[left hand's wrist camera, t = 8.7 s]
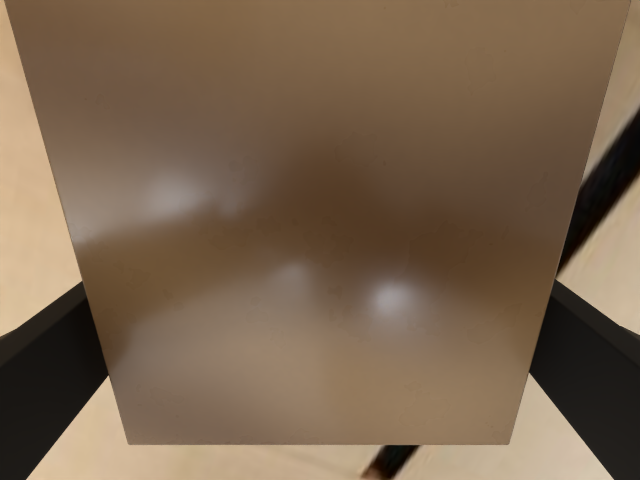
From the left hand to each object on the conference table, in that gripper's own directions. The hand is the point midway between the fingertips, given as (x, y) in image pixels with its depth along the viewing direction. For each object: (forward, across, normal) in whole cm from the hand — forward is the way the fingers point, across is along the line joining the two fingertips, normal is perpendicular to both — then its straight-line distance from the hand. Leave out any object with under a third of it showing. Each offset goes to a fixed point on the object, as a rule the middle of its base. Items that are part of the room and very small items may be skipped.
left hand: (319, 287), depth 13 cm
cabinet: (+7, 0, -6) cm, 9 cm away
